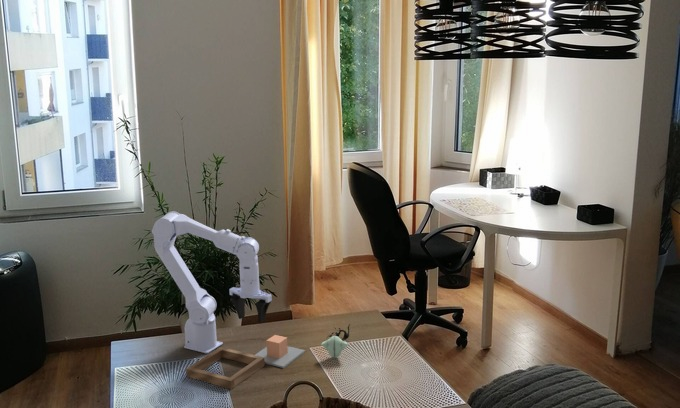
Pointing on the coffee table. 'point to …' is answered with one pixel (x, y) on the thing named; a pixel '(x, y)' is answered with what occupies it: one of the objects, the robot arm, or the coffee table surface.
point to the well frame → (228, 382)
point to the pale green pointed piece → (334, 346)
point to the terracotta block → (277, 346)
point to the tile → (284, 360)
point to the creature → (340, 333)
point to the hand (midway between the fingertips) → (251, 319)
